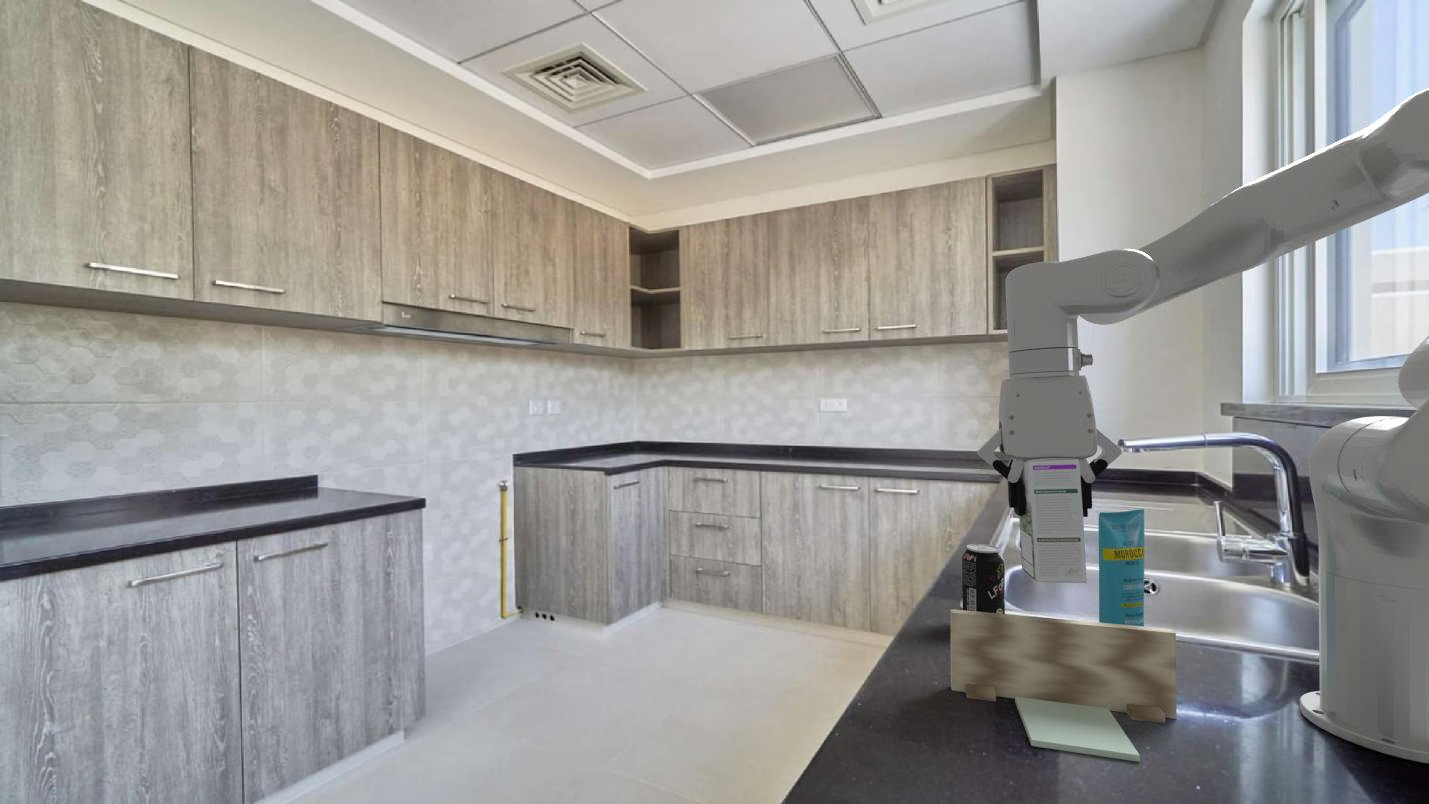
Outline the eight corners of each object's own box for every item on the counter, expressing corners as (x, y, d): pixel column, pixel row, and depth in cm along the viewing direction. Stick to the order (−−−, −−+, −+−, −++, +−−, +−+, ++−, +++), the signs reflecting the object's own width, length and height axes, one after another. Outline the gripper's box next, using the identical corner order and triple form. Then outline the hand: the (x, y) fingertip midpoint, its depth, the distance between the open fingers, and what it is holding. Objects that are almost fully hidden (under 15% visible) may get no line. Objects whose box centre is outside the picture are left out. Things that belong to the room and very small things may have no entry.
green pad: (1108, 714, 64) (1108, 708, 64) (1139, 761, 56) (1139, 755, 56) (1015, 702, 67) (1015, 696, 67) (1031, 745, 58) (1031, 739, 58)
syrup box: (1089, 584, 70) (1083, 458, 70) (1033, 582, 71) (1028, 458, 71) (1070, 571, 75) (1065, 454, 75) (1019, 570, 76) (1014, 455, 77)
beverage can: (1003, 624, 91) (1003, 544, 91) (1006, 638, 85) (1005, 553, 85) (962, 619, 93) (962, 541, 93) (962, 632, 87) (962, 549, 88)
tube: (1120, 669, 75) (1119, 515, 75) (1084, 654, 80) (1083, 508, 80) (1160, 659, 78) (1158, 511, 78) (1122, 646, 82) (1121, 505, 82)
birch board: (1166, 707, 66) (1165, 624, 66) (1182, 725, 62) (1181, 638, 62) (950, 680, 72) (949, 605, 72) (952, 695, 68) (952, 616, 68)
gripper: (1114, 364, 74) (1121, 510, 74) (963, 371, 80) (969, 508, 79) (1137, 359, 67) (1144, 521, 67) (969, 368, 72) (976, 518, 72)
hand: (1049, 513), depth 73 cm, fingers closed on syrup box, 6 cm apart
